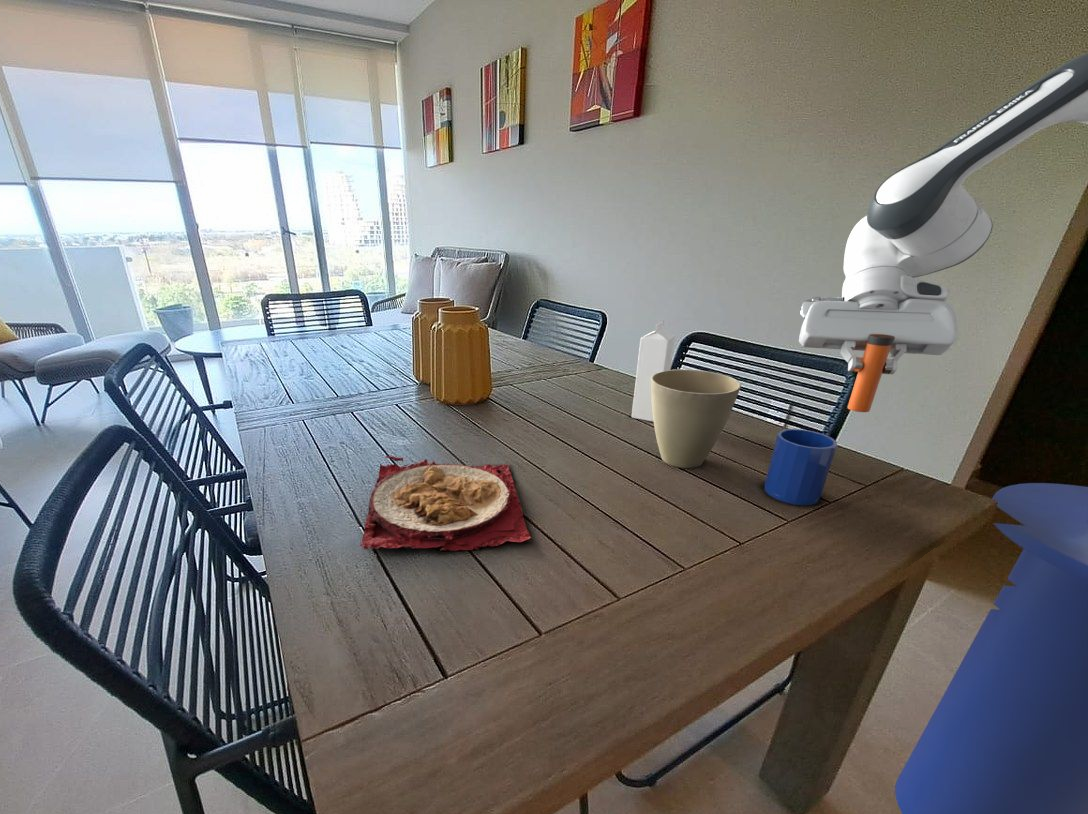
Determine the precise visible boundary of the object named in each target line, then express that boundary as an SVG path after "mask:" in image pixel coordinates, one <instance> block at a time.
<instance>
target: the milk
mask: <svg viewBox="0 0 1088 814" xmlns="http://www.w3.org/2000/svg"><path fill="white" fill-rule="evenodd" d="M664 324H665V320H661V321H660V322H658V323H656V324H655V329H654V330H653V331H651V332H649V333H647V334H645V335H643V336H642V337H640V341H639V350H638V359H637V367H636V374H635V375H636V376H635V385H634V392H633V393H634V394H633V400H632V408H631V418H632V419H638V420H642V421H648V422H653V423H654V421H653V413H652V400H651V377H652V375H654V374H655V373H658V372H661V371H667V370H671V368H672V367H671V366H672V361H673V353H674V348H675V340H676V335H674V334H673V333H672V332H670V331H669V330H668V329H666V328H665V327H664Z"/></svg>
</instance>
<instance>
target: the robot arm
mask: <svg viewBox="0 0 1088 814" xmlns="http://www.w3.org/2000/svg"><path fill="white" fill-rule="evenodd" d="M1069 122H1070V123H1073V122H1074V123H1079V124H1084V125H1088V52H1087V53H1083V54H1081V55H1079V56H1076V57H1074V58H1072V59H1071V60H1068V61H1067V62H1065V63H1063V64H1061V65H1059V66H1058V67H1056V68H1054V69H1053V70H1051V71H1049V72H1048V73H1046V74H1045V75H1043V76H1042V77H1040V78H1039V79H1037V80H1036V81H1034V82H1033V83H1031V84H1030V85H1028V86H1027V87H1025V88H1023V89H1022V90H1021V91H1019V92H1017V94H1015V95H1013V96H1012V97H1011V98H1009V99H1008V100H1006V101H1005V102H1003V103H1002V104H1000V105H999V106H997V107H996V108H995V109H993V110H991V111H990V112H988V113H987V114H986V115H984V116H983V117H981V118H980V119H978V120H977V121H975V122H974V123H973V124H971V125H970V126H968V127H967V128H965V129H963V130H962V131H961V132H959V133H958V134H957V135H954V136H953V137H952V138H950V139H948V141H946V142H945V143H943V144H942V145H940V146H939V147H937V148H935V149H934V150H933V151H931V152H929V153H927V154H926V155H924V156H922V157H920V158H918V159H916V160H915V161H912V162H911V163H909V164H907V165H905V166H904V167H901V168H900V169H899V170H897V171H895V172H894V173H892V174H890V176H888V177H887V178H885V180H884V181H883V182H882V183H881V184H880V185H879V186H878V187H877V189H876V190H875V192H874V193H873V196H872V198H871V200H870V202H869V205H868V208H867V214H866V215H864V217H862V218H861V219H860V220H859V221H858V222H857V223H856V224H855V225H854V226H853V228H852V229H851V231H850V234H849V236H848V237H847V241H846V245H845V249H844V256H843V268H842V269H843V274H844V276H845V279H844V281H843V283H842V288H841V297H837V296H835V297H834V296H832V297H831V296H830V297H821V296H813V297H812V298H810V299H806V300H805V301H803V302H802V304H801V306H800V316H801V318H802V319H803V322H802V325H801V328H800V330H799V331H800V332H799V337H798V343H799V344H800V345H801V347H803V348H808V349H809V348H811V349H813V348H814V349H824V350H825V349H826V350H840V356H841V357H842V358H843V359H844V360H845V362H847V372H855V373H858V372H860V370H861V369H862V368H863V363H862V362H863V357H858V355H857V354H856V352H855V351H859V352H861V351H862V352H865V349H866V345H867V340H868V336H869V335H870V334H884V335H891V336H894V337H895V338H894V342H893V345H891V348H890V351H889V357H890V358H892V359H889V358H887V360H886V363H885V366H884V369H883V372H882V375H891V376H892V375H894V374H895V373H896V372H897V370H898V361H899V360H900V359H901V357H902V356H904V354H912V355H926V356H928V355H929V356H942V355H944V354H945V353H947V352H948V351H949V350H950V349H951V348H953V347H954V345H955V344H956V343H957V341H958V339H959V326H958V320H957V315H956V312H955V309H954V307H953V306H952V304H950V303H949V302H947V300H948V298H949V297H950V291H951V290H950V288H949V287H948V286H945V285H941V284H939V283H938V284H937V283H932V282H929V281H925V280H921V279H918V278H919V277H924V276H927V275H931V274H933V273H938V272H941V271H944V270H946V269H951V268H953V267H955V266H958V265H960V264H962V263H964V262H965V261H967V260H969V259H971V258H972V257H974V255H975V254H977V253H978V252H979V251H980V250H981V249H982V248H983V247H984V245H985V244H986V243H987V242H988V240H989V238H990V237H991V234H992V231H993V220H992V219H991V217H990V216H989V215H988V214H987V212H986V210H984V208H982V205H980V204H979V202H978V201H976V199H974V198H973V197H972V196H971V194H969V192H968V191H967V190H966V189H965V187H963V184H964V183H965V180H967V178H968V177H969V176H971V175H972V174H973V173H975V172H976V171H978V170H979V169H981V168H983V167H984V166H985V165H988V163H990V162H992V161H994V160H996V158H998V157H1000V156H1001V155H1003V154H1005V153H1006V152H1008V151H1009V150H1011V149H1013V148H1014V147H1016V146H1017V145H1019V144H1021V143H1022V142H1023V141H1025V140H1027V139H1028V138H1030V137H1031V136H1032V135H1034V134H1036V133H1038V132H1039V131H1042V130H1043V129H1046V128H1048V127H1051V126H1054V125H1058V124H1062V123H1069Z"/></svg>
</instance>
